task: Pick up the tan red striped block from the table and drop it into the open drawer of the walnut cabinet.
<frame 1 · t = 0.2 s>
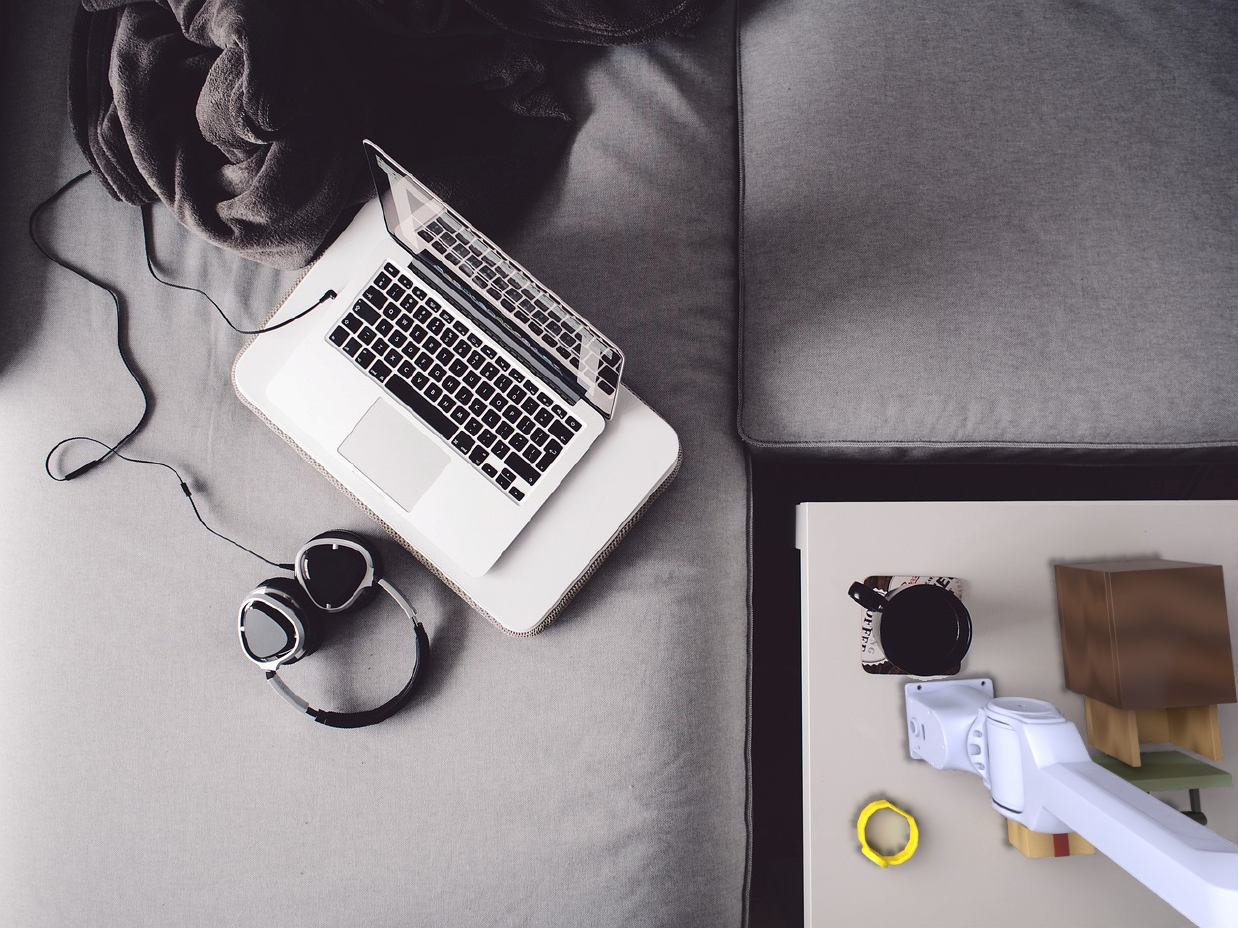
tan red striped block: (1039, 825, 74), on the table
yellow rubber band ring: (901, 806, 73), point 1 cm above the table
cabinet: (1110, 622, 76), on the table
pullout: (1151, 736, 71), point 4 cm above the table, slide at 7.0 cm
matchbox: (1168, 835, 75), on the table
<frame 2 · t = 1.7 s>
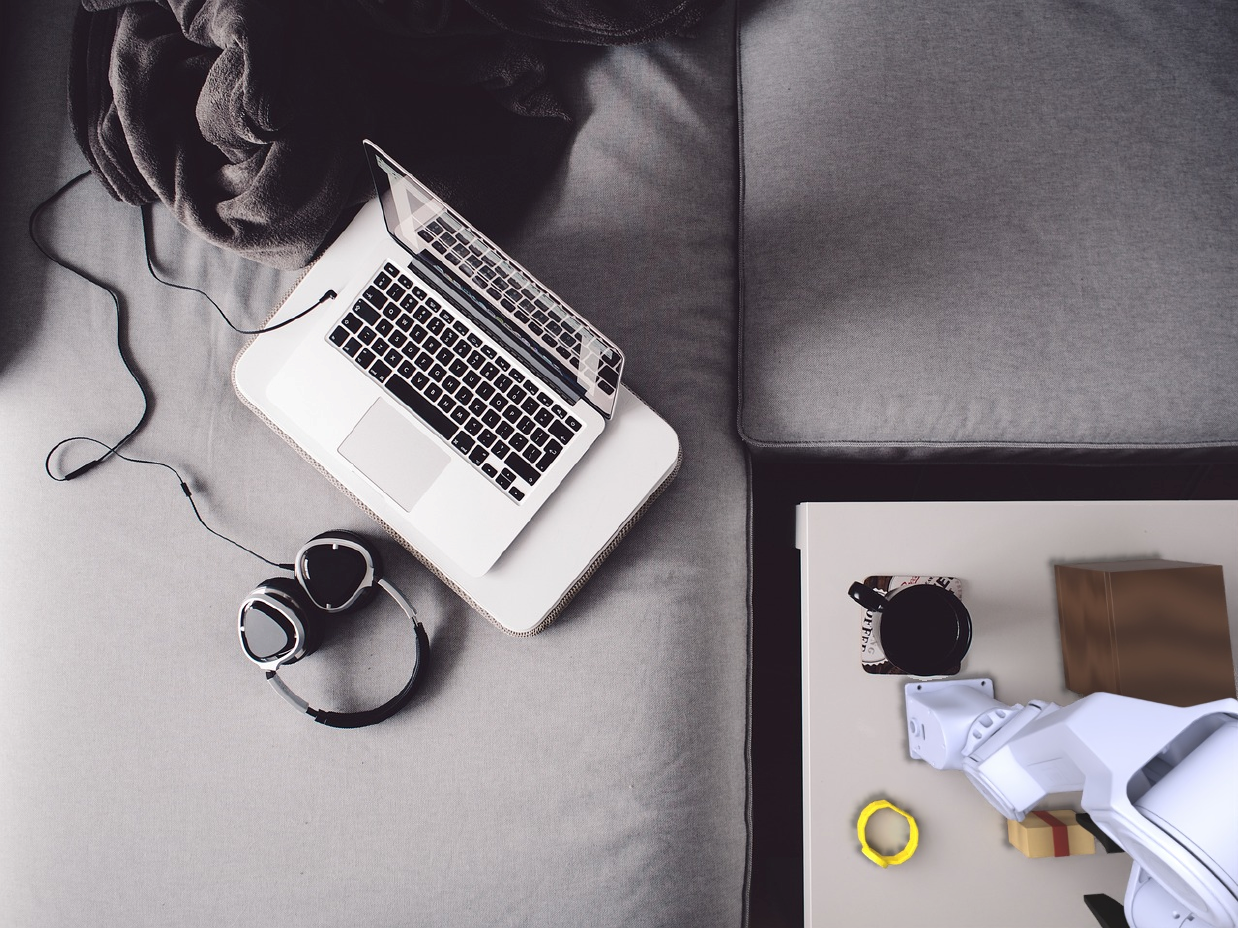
hand: (1089, 856, 67), 7 cm above the table, tool pointing down, fingers open, 7 cm apart
nothing on the table moved.
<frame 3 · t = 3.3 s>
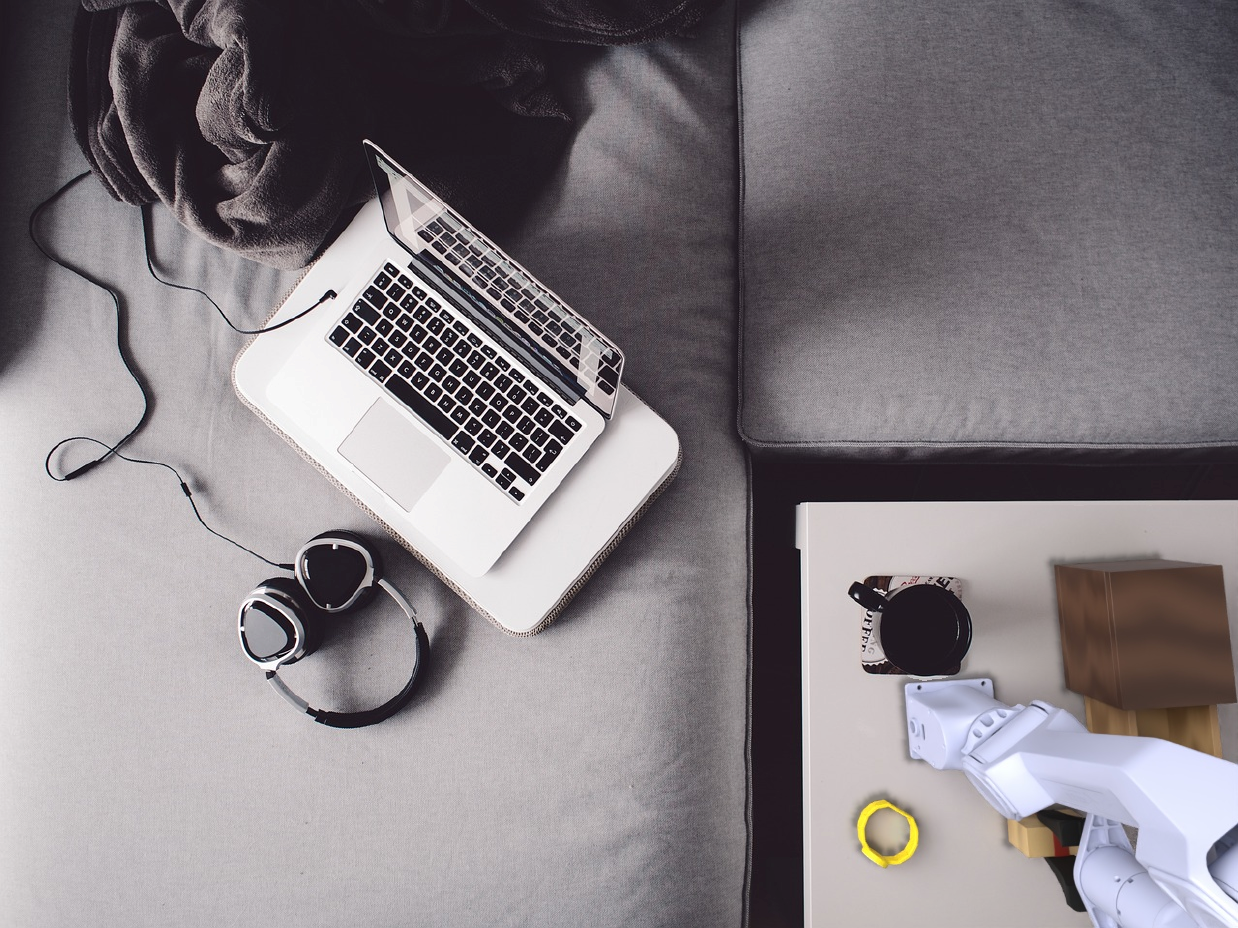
hand: (1047, 831, 73), 1 cm above the table, tool pointing down, fingers closed on tan red striped block, 3 cm apart
tan red striped block: (1039, 825, 74), on the table, touching gripper
everything else where it was.
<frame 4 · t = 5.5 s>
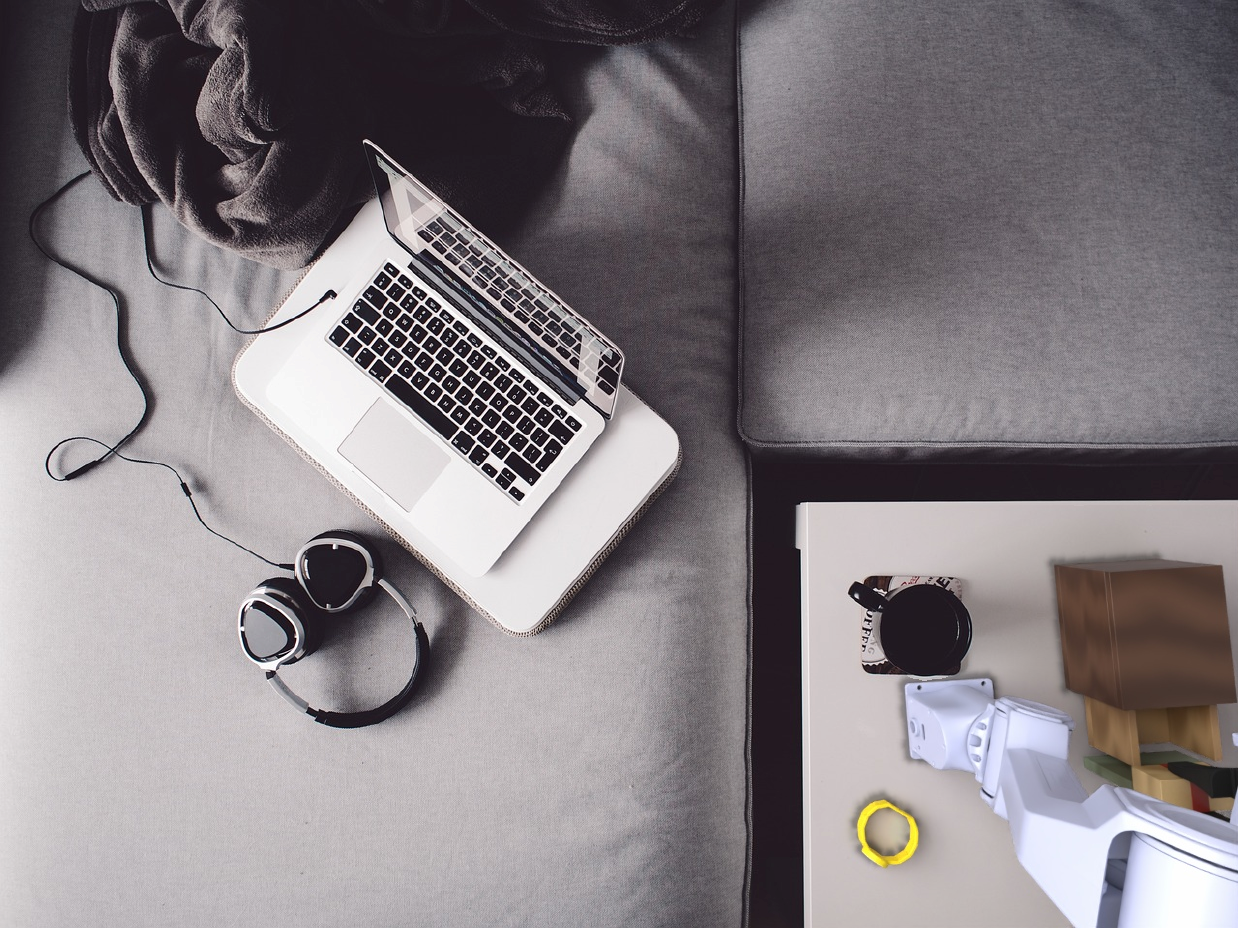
hand: (1179, 785, 65), 10 cm above the table, tool pointing down, fingers closed on tan red striped block, 3 cm apart
tan red striped block: (1168, 779, 66), point 9 cm above the table, touching gripper
everything else where it was.
when the fingers open (5 cm above the table, at t = 7.9 s): tan red striped block drops 2 cm, resting on pullout.
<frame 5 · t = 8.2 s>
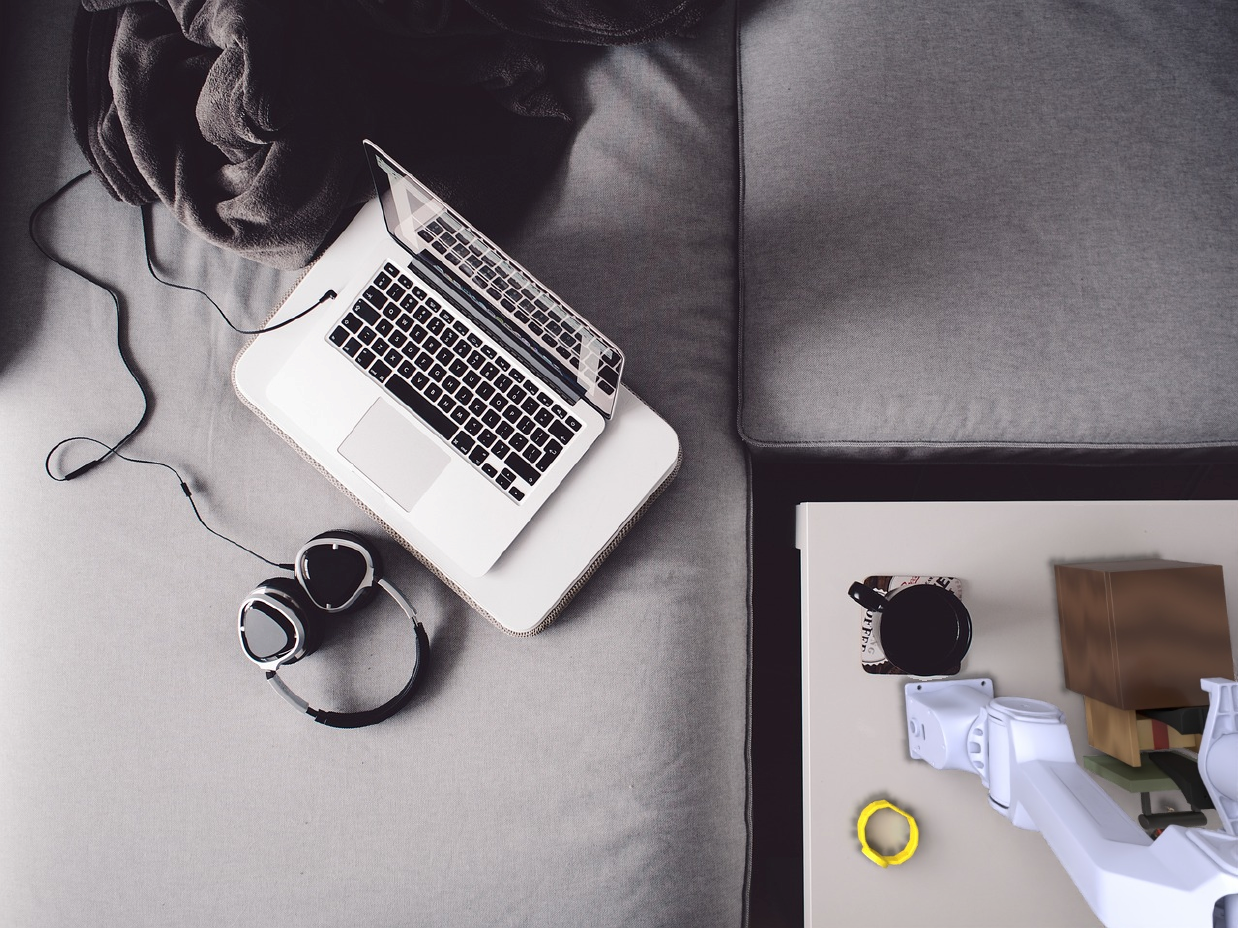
hand: (1155, 732, 70), 5 cm above the table, tool pointing down, fingers open, 4 cm apart
tan red striped block: (1134, 722, 73), point 2 cm above the table, touching pullout
pullout: (1151, 736, 71), point 4 cm above the table, slide at 7.0 cm, touching tan red striped block
everything else where it was.
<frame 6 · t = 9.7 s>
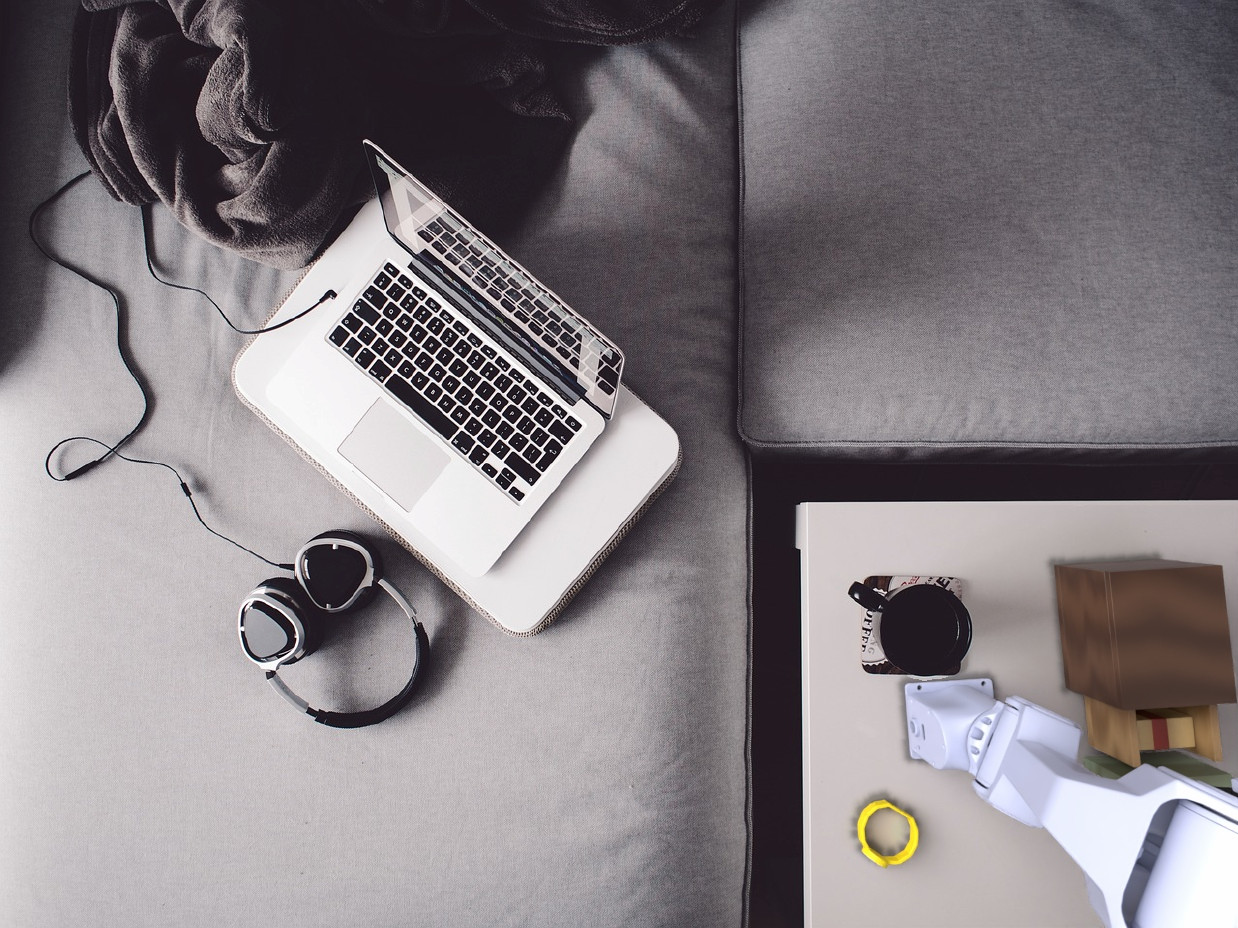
hand: (1179, 826, 64), 10 cm above the table, tool pointing down, fingers open, 7 cm apart
nothing on the table moved.
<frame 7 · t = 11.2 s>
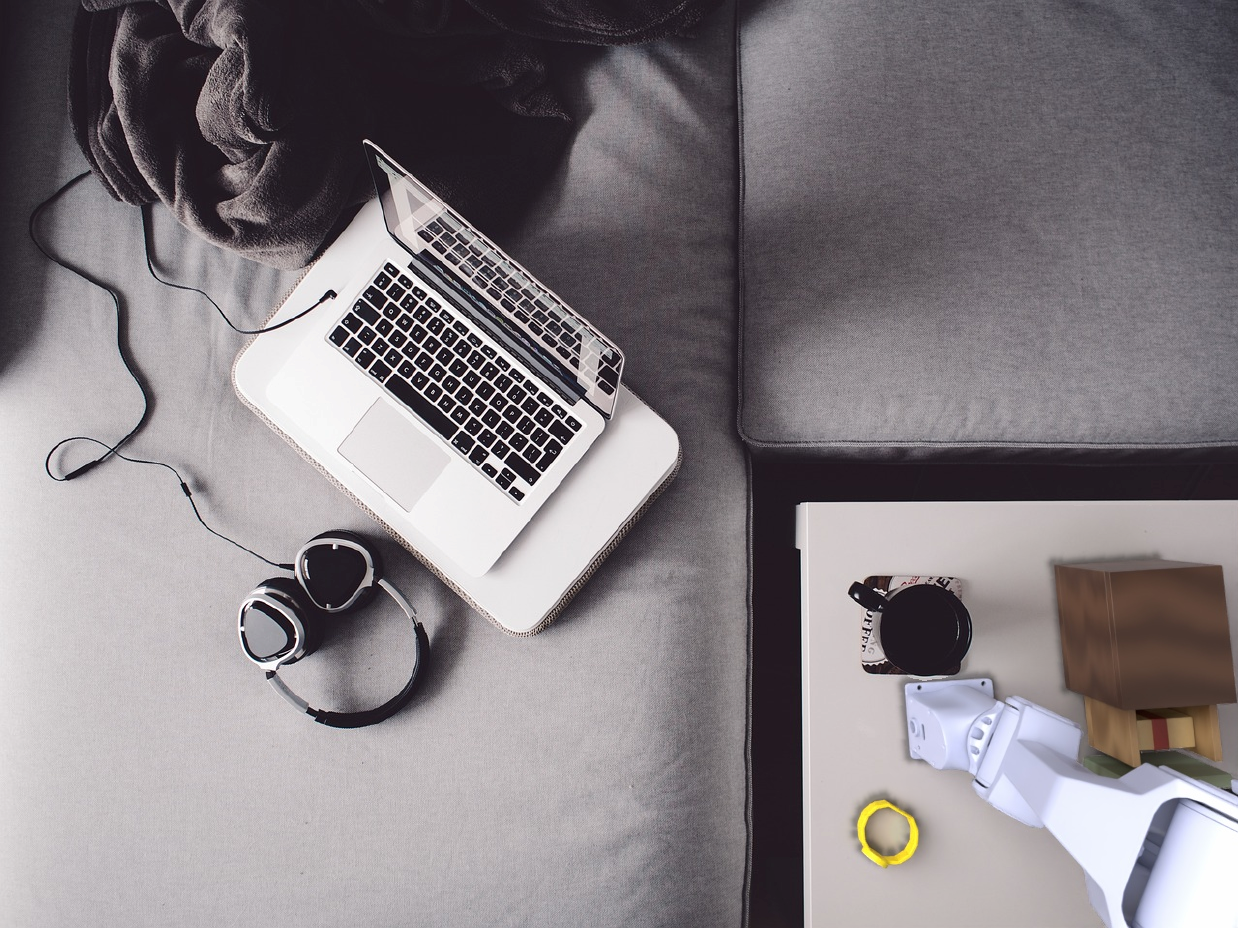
hand: (1178, 827, 64), 10 cm above the table, tool pointing down, fingers open, 7 cm apart
nothing on the table moved.
at the end: tan red striped block inside the target area (1.2 cm from its centre), point 1.9 cm above the table; the gripper is holding nothing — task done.
